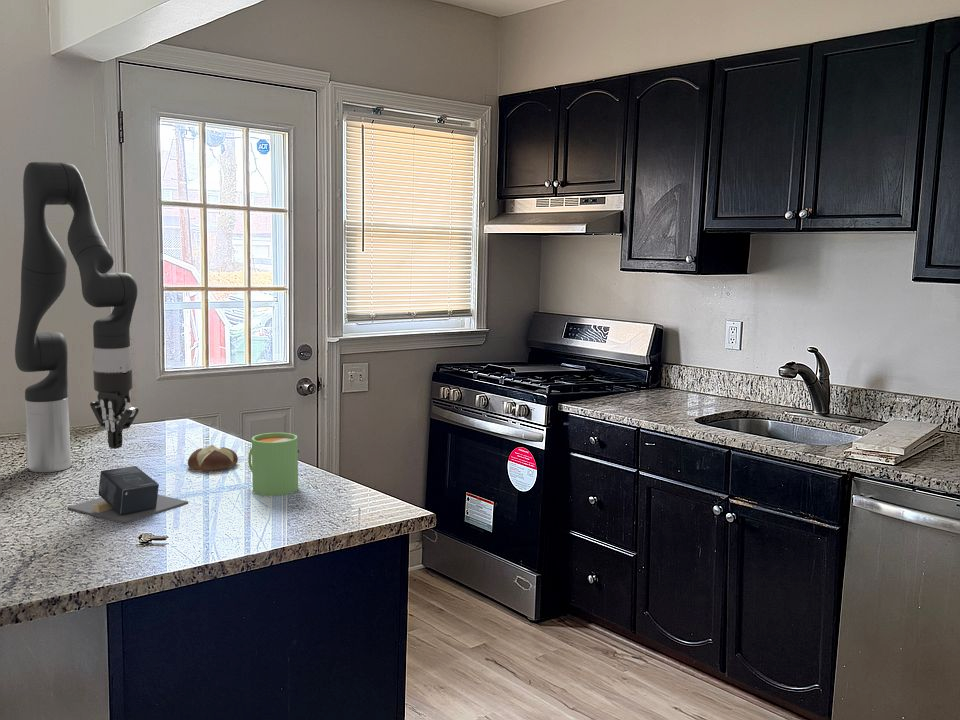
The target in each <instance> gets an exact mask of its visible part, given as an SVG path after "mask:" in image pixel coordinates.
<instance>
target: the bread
mask: <svg viewBox="0 0 960 720" xmlns="http://www.w3.org/2000/svg"><path fill="white" fill-rule="evenodd" d="M238 461H239V457H238V454H237V453H236V452H235V451H234V450H232V449H231V448H228V447H224V446H223V447H220V448H219V447H217V446H216V445H213V444H211V445H208V446H206V447H204V448H203V447H201V448H197V449H196V450H194V451H193V452H192V453H191V454H190V456H189V457H188V459H187V466H188V468H189V469H190V470H192V471H196V472H211V471H212V473H215V471H216V472H221V471H225V470H227V469H229V468H230V469H231V468H232V467H234V466H235V465H237V463H238Z"/></svg>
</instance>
